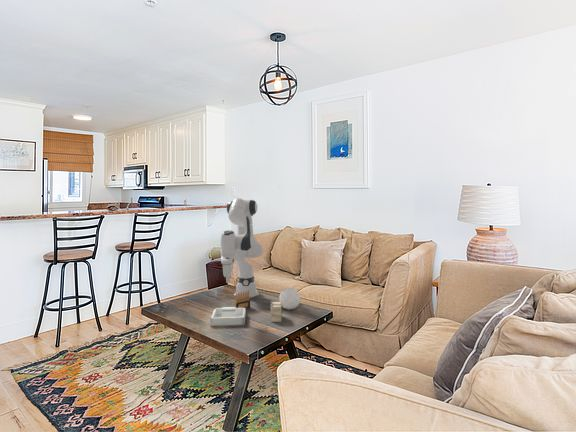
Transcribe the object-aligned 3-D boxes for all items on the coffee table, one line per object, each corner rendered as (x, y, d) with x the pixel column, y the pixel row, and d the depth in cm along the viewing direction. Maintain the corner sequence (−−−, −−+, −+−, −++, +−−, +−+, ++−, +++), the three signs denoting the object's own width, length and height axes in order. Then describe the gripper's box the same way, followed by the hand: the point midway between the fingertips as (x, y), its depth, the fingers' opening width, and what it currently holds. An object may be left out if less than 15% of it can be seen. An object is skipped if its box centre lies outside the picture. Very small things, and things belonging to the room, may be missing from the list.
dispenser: (270, 316, 217) (270, 300, 216) (280, 316, 217) (280, 300, 217) (271, 321, 208) (270, 305, 207) (281, 321, 208) (281, 305, 208)
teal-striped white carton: (222, 318, 212) (222, 307, 211) (235, 318, 212) (235, 306, 212) (221, 320, 209) (221, 308, 208) (235, 320, 209) (235, 308, 209)
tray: (214, 315, 219) (214, 308, 218) (245, 314, 220) (245, 307, 220) (210, 326, 201) (210, 318, 201) (244, 325, 203) (244, 317, 202)
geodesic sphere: (285, 294, 243) (280, 281, 234) (304, 296, 239) (300, 282, 230) (279, 312, 233) (274, 299, 224) (299, 314, 228) (295, 301, 219)
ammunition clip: (236, 310, 227) (235, 292, 226) (234, 310, 229) (234, 292, 228) (250, 307, 233) (250, 290, 233) (248, 306, 235) (248, 289, 234)
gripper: (225, 254, 221) (225, 275, 222) (221, 261, 200) (221, 285, 202) (235, 254, 221) (235, 275, 222) (232, 261, 201) (232, 285, 202)
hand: (228, 280), depth 212 cm, fingers open, 8 cm apart
